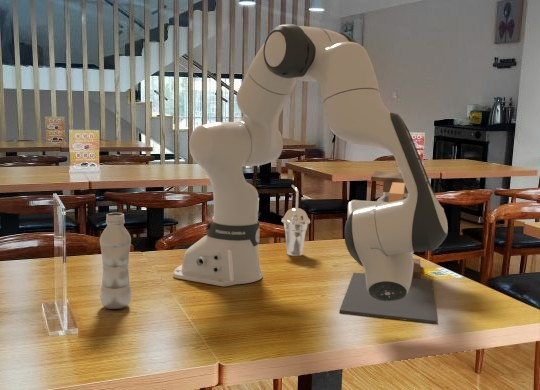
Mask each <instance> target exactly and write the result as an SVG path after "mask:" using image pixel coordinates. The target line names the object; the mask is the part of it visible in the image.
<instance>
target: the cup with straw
mask: <svg viewBox="0 0 540 390" xmlns="http://www.w3.org/2000/svg"><path fill="white" fill-rule="evenodd" d="M291 187H292V188H293V190H294V191H295V195H296V196H295V207H292V208H290V209H288V210H287V211H286V212H285V214H284V216H283V217H282V218H281V223H283V226H284V227H283V228H284V231H285V233H284V234H285V247H286V248H285V249H286V251H287V252H286V254H287V255H288V256H291V257H292V256H293V257H299V256H300V257H301V256H302V255H303V252H304V244H305V240H306V239H305V238H306V232H307V229H308V225H309V224H311V220H310V218H309V217H308V214H307V212H306V211H305V210H304V209H302V208H299V195H300V194H299V193H300V192H299V189H298V188H297V187H296V186H295V185H294V184H291Z"/></svg>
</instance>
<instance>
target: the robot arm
mask: <svg viewBox="0 0 540 390" xmlns="http://www.w3.org/2000/svg"><path fill="white" fill-rule="evenodd" d="M376 75H377V74H376V72H375V69H374V66H373V63H372V61H371V58H370V56H369V54H368V51H367V49H365V47H364V46H362V44H360V43H358V41H356V40H355V39H354V38H353V37H351V36H349V35H348V34H345V33H343V32H336V31H333V30H331V29H328V28H327V29H326V28H323V27H319V26H316V27H314V26H306V25H297V24H294V23H291V24H290V23H289V24H280V25H277V26H275V27H274V28H272V29H271V30H270V31H269V33H268V35H267V37H266V39H265V42H264V43H263V44H262V46H261V47H260V48H259V50H258V52H256V55H254V58H253V60H252V62H251V63H250V66H249V68H248V69H247V71H246V74H245V76H244V78H243V80H242V82H241V85H240V86H239V88H238V91H237V93H236V103H237V107H238V108H239V111H240V112H241V113H242V114H243V116H242V118H240V120H238V121H214V122H209V123H204V124H200V125H198V126H196V127H195V128H194V129H193V131H192V132H191V135H190V137H189V142H188V148H189V153H190V155H191V157H192V159H193V161H194V162H195V163H196V164H197V165H199V166H200V167H201V168H202V169H203V170H204V172H205V173H206V175H207V177H208V179H209V181H210V185H211V189H212V194H213V196H212V197H213V218H212V219H210V220H209V222H207V223H206V225H204V229H203V230H205V231H206V232H205V233H206V235H204V236H203V237H201V238H200V239H199V240H198V241H196V242H194V244H192V245H191V246H189V247H188V248H187V250H186V251H185V252H184V255H183V258H182V264H180V265H179V266H177V267H176V268H175V269H174V270H173V275H172V276H173V277H174V278H175V279H178V280H179V279H180V280H186V281H192V282H196V283H202V284H207V285H212V286H213V285H214V286H219V287H230V286H235V285H241V284H243V285H244V284H249V283H253V282H254V283H255V282H257V281H260V280H261V279H262V278H263V276H264V275H263V272H262V267H261V263H260V255H259V243H260V239H261V238H260V234H261V229H260V222H259V220H258V219H259V193H258V190H257V188H256V187H255V186H254V185H253V184H251V183H249V182H247V180H246V178H245V176H244V171H243V168H244V167H256V166H262V165H266V164H269V163H272V162H275V161H276V160H278V159H279V158H280V156H281V154H282V151H283V148H284V140H283V136H282V133H281V131H280V130H279V128H278V123H279V118H280V115H281V114H282V111H283V109H284V107H285V105H286V103H287V101H288V99H289V97H290V95H291V93H292V92H293V90H294V88H295V86H296V84H297V82H298V81H301V82H308V83H318V84H319V86H320V90H321V98H322V104H323V111H324V115H325V119H326V121H327V122H326V123H327V125H328V128H329V130H330V131H331V132H332V134H333V135H335V136H336V137H337V138H338V139H341V140H342V141H344V142H347V143H351V144H354V145H358V146H359V145H361V146H368V147H369V146H370V147H377V148H381V149H384V150H386V151H388V152H390V153H391V154H392V155H393V158H394V160H395V162H396V164H397V167H398V169H399V173H401V175H402V178H403V180H404V183H405V185H406V188H407V191H408V193H404V195H403V200H399V201H394V202H390V203H388V202H389V192H383V191H382V195H381V196H380V197H379V198H378V199H377V200H375V201H374V200H373V201H372V200H360V199H359V200H358V199H352V200H351V201H350V200H349V202H348V204H347V220H346V222H345V225H344V243H345V248H346V249H347V252H348V253H349V255H350V256H351V257H352V258H353V259H354V261H355V262H356V263H357V264H359V265H360V266H361V267H362V268H363V270H364V274H365V276H366V287H367V291H368V293H369V295H370V296H371V297H373V298H375V299H377V300H380V301H396V300H400V299H403V298H404V297H405V296H406V295H407V294H408V292H409V289H410V286H411V282H412V276H413V266H414V261H413V259H414V257H413V255H414V253H421V252H434V251H436V249H438V248H439V247H440V245H442V244H443V242H444V241H445V240H446V238H447V236H448V235H449V234H448V233H449V231H448V230H449V227H448V219H447V216H446V213H445V209H444V208H443V206H442V205H441V204H440V202H439V200H438V198H437V196H436V194H435V192H434V190H433V186H432V184H431V182H430V179H429V177H428V174H427V172H426V169H425V167H424V165H423V162H422V160H421V157H420V154H419V151H418V149H417V147H416V144H415V142H414V139H413V137H412V135H411V133H410V130H409V128H408V126H407V125H406V122H405V121H404V120H403V118H402V117H401V115H399V114H398V113H394V112H391V111H390V110H389V109H388V107H386V106H385V103H384V102H383V99H382V97H381V92H380V88H379V87H380V86H379V83H378V80H377V79H378V78H377V76H376Z"/></svg>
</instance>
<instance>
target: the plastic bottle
mask: <svg viewBox="0 0 540 390" xmlns="http://www.w3.org/2000/svg"><path fill="white" fill-rule="evenodd" d="M105 217H106V218H105V219H106V220H105V224H107V225H106V227H105V228H104V230H103V231H102V233H101V235H100V236H99V246H100V251H101V252H100V253H101V258H102V259H101V260H102V262H101V263H102V279H101V280H102V281H101V288H100V292H99V293H100V295H99V298H100V303H101V304H102V306H103V307H104V308H106V309H112V310H117V309H119V310H120V309H124V308H126V307H128V306H129V304H130V303H131V299H132V296H133V295H132V294H133V293H132V287H131V284H130V274H129V263H130V261H129V260H130V251H131V243H132V237H131V234H130V233H129V231H128V229H126V227H125V226H124V224H125V214H124V213H123V212H110V213H106V216H105Z"/></svg>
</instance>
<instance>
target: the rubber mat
mask: <svg viewBox="0 0 540 390" xmlns="http://www.w3.org/2000/svg"><path fill="white" fill-rule="evenodd" d="M433 281H434V280H433V279H427V278H425V279H424V278H420V279H416V278H412V282H411V286H410V289H409V292H408V294H407V295H406V296H405V297H404V298H403V299H400V300H396V301H380V300H377V299H375V298H373V297H371V296H370V295H369V293H368V291H367V287H366V276H365V272H364V273H363V272H353V273H352V277H351V279H350V282H349V284H348V286H347V289H346V292H345V294H344V298H343V300H342V302H341V305H340V308H339V311H338V312H339V314H340V313H341V314H348V315H355V316H364V317H365V316H366V317H373V316H375V317H374V318H382V317H387V318H386V319H391V318H396V319H395V320H399V319H406V320H405V321H408V320H414V321H413V322H417V321H422V322H421V323H426V322H431V323H430V324H435V323H436V324H437V311H436V299H435V292H434V282H433Z"/></svg>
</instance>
